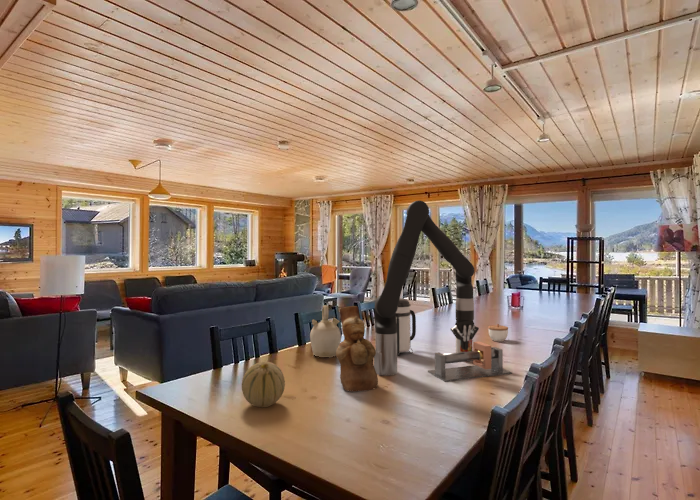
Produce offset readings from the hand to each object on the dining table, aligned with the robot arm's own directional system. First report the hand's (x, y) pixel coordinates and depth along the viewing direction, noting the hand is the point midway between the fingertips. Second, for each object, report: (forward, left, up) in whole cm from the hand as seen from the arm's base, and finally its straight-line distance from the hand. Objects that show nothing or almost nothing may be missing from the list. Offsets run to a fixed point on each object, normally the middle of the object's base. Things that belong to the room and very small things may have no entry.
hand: (464, 349), depth 176 cm
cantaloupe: (-85, -8, -10) cm, 86 cm away
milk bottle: (+12, +19, -10) cm, 25 cm away
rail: (+2, 0, -10) cm, 10 cm away
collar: (+9, 0, -8) cm, 12 cm away
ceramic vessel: (-48, +3, -10) cm, 49 cm away
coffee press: (-11, +42, -10) cm, 45 cm away
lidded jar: (+53, +47, -10) cm, 72 cm away
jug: (-48, +50, -10) cm, 70 cm away
